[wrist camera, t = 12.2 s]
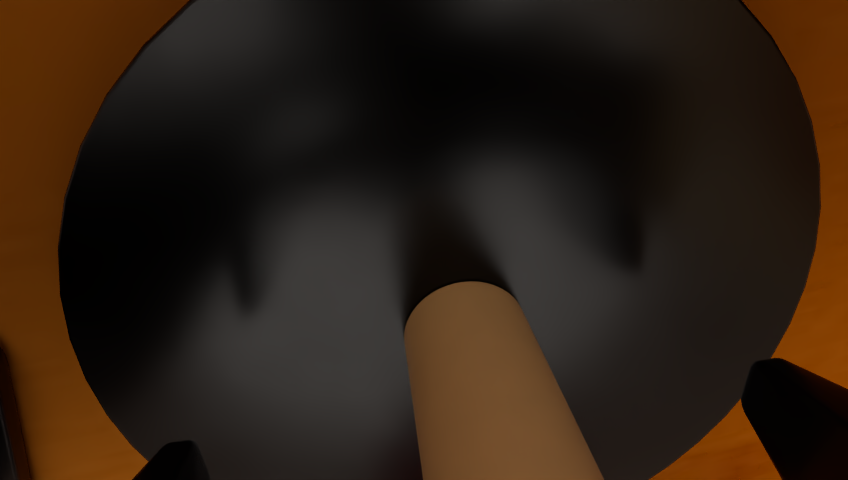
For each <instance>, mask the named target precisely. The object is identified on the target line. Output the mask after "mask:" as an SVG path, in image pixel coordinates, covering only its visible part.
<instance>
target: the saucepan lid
mask: <svg viewBox="0 0 848 480" xmlns="http://www.w3.org/2000/svg"><path fill="white" fill-rule="evenodd" d="M820 209H821V200H820V164H819V158H818V153H817V147H816V142H815V136H814V131H813V125H812V121H811V118H810V115H809V113H808V110H807V107H806V104H805V102H804V99H803V96H802V93H801V91H800V88H799V85H798V82H797V80H796V77H795V76H794V74H793V72H792V71H791V69H790V67H789V65H788V64H787V62H786V60H785V58H784V57H783V55H782V53H781V52H780V50H779V48H778V46H777V45H776V43H775V41H774V39H773V38H772V36H771V35H770V34H769V32H768V31H767V30H766V29H765V28H764V26H763V25H762V24H761V23H760V22H759V21H758V19H757V18H756V17H755V16H754V15H753V14H752V12H751V11H750V10H749V9H748V8H747V6H746V5H745V4H744V3H743V2H742V1H741V0H189V1H188V2H187V3H186V4H185V5H184V6H183V7H182V8H181V9H180V10H179V11H178V12H177V13H176V14H175V15H174V16H173V17H172V18H171V19H170V20H168V21H167V22H166V23H165V24H164V25H163V26H162V27H161V28H160V29H159V30H158V31H157V32H156V33H155V34H154V35H153V36H152V37H151V38H150V39H149V40H148V41H147V42H146V43H145V44H144V45H143V46H142V47H141V49H140V50H139V51H138V53H137V54H136V55H135V57H134V58H133V59H132V61H131V62H130V63H129V65H128V66H127V67H126V69H125V70H124V71H123V73H122V74H121V75H120V77H119V78H118V80H117V81H116V82H115V84H114V85H113V86H112V88H111V89H110V90H109V92H108V93H107V94H106V96H105V98H104V100H103V102H102V104H101V106H100V108H99V110H98V112H97V114H96V116H95V118H94V120H93V122H92V124H91V126H90V128H89V130H88V132H87V134H86V135H85V137H84V139H83V141H82V143H81V145H80V148H79V152H78V155H77V158H76V161H75V165H74V168H73V171H72V174H71V177H70V181H69V184H68V187H67V190H66V193H65V197H64V204H63V212H62V220H61V228H60V236H59V243H58V259H59V281H60V297H61V302H62V306H63V311H64V315H65V320H66V324H67V329H68V334H69V338H70V341H71V344H72V346H73V349H74V351H75V354H76V356H77V359H78V361H79V364H80V366H81V369H82V371H83V374H84V376H85V379H86V381H87V382H88V384H89V386H90V387H91V389H92V391H93V392H94V394H95V396H96V397H97V399H98V401H99V403H100V404H101V406H102V408H103V409H104V411H105V413H106V414H107V416H108V417H109V418H110V419H111V421H112V422H113V423H114V424H115V426H116V427H117V428H118V429H119V431H120V432H121V433H122V434H123V435H124V437H125V438H126V439H127V440H128V442H129V443H130V444H131V445H132V446H133V447H134V448H135V449H136V450H137V451H138V452H139V453H140V454H141V455H142V456H143V457H144V458H145V459H146V460H147V461H150V460H151V459H152V458H153V456H154V455H155V454H156V453H157V452H158V451H159V450H160V449H161V448H162V447H163V446H164V445H166V444H167V443H170V442H177V441H184V440H194V441H195V442H196V443H197V444H198V446H199V448H200V451H201V454H202V456H203V459H204V461H205V464H206V466H207V469H208V472H209V475H210V480H649V479H650V478H652V477H653V476H655V475H656V474H658V473H659V472H661V471H662V470H664V469H665V468H666V467H668V466H669V465H671V464H672V463H673V462H674V461H676V460H677V459H678V458H679V457H681V456H682V455H683V454H684V453H686V452H687V451H688V450H689V449H691V448H692V447H693V446H694V445H696V444H697V443H698V442H699V441H700V440H701V439H702V438H703V437H704V436H705V435H707V434H708V433H709V432H710V431H711V430H712V429H713V428H714V427H715V426H716V425H717V424H718V423H719V422H720V421H721V420H722V419H723V418H724V417H725V416H726V415H727V414H728V413H729V412H730V410H731V409H732V408H733V407H734V406H735V405H736V403H737V402H738V401H739V400H740V399H741V396H742V392H743V389H744V386H745V382H746V379H747V376H748V373H749V369H750V367H751V365H752V364H753V363H754V362H755V361H758V360H765V359H771V357H772V355H773V353H774V352H775V350H776V348H777V346H778V344H779V343H780V341H781V339H782V337H783V335H784V334H785V332H786V330H787V328H788V326H789V325H790V323H791V320H792V318H793V315H794V313H795V310H796V308H797V305H798V303H799V301H800V298H801V296H802V293H803V291H804V288H805V285H806V282H807V278H808V274H809V271H810V267H811V263H812V259H813V256H814V252H815V248H816V240H817V232H818V225H819V217H820Z"/></svg>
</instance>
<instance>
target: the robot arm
mask: <svg viewBox="0 0 848 480" xmlns="http://www.w3.org/2000/svg"><path fill="white" fill-rule="evenodd" d="M741 402H742V407H743V410H744V412H745V414H746V416H747V418H748V419H749V421H750V423H751V425H752V427H753V428H754V430H755V432H756V434H757V435H758V437H759V439H760V441H761V443H762V444H763V446H764V448H765V450H766V452H767V453H768V455H769V457H770V459H771V460H772V462H773V464H774V466H775V468H776V469H777V471H778V473H779V475H780V477H781V478H782V480H848V389H846V388H844V387H842V386H840V385H838V384H835V383H833V382H831V381H829V380H827V379H825V378H823V377H820V376H818V375H816V374H814V373H812V372H810V371H808V370H805V369H803V368H801V367H799V366H797V365H795V364H793V363H790V362H788V361H786V360H784V359H780V358H772V359H765V360H758V361H755V362H754V363H753V364H752V365H751V367H750V369H749V373H748V376H747V379H746V382H745V386H744V389H743V392H742V396H741ZM0 480H31V477H30V472H29V468H28V463H27V458H26V453H25V448H24V443H23V438H22V433H21V428H20V423H19V418H18V413H17V408H16V403H15V398H14V393H13V388H12V383H11V378H10V373H9V368H8V363H7V358H6V356H5V353H4V351H3V349H1V348H0ZM132 480H210V475H209V472H208V469H207V466H206V464H205V461H204V459H203V456H202V454H201V451H200V448H199V446H198V444H197V443H196V442H195V441H194V440H184V441H177V442H170V443H167V444H166V445H164V446H163V447H162V448H161V449H160V450H159V451H158V452H157V453H156V454H155V455H154V456H153V458H152V459H151V460H150V461H149V462H148V463H147V464H146V465H145V466H144V467H143V468H142V469H141V471H140V472H139V473H138V474H137V475H136V476H135V477H134V478H133V479H132Z"/></svg>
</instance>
